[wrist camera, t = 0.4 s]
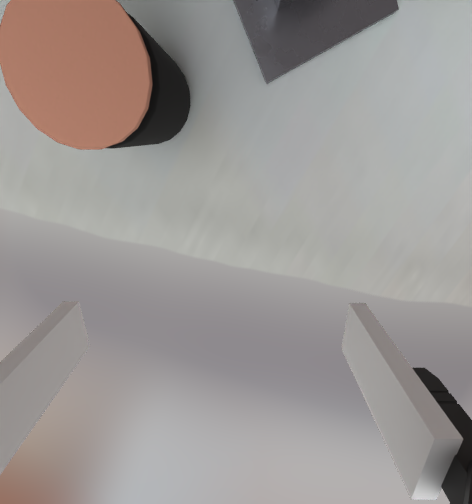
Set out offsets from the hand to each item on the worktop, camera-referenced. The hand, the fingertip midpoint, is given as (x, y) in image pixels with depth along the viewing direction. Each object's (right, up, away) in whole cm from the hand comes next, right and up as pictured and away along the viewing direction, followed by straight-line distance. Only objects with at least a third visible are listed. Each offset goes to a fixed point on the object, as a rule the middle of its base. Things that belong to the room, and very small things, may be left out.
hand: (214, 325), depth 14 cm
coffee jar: (-10, +23, +23) cm, 34 cm away
